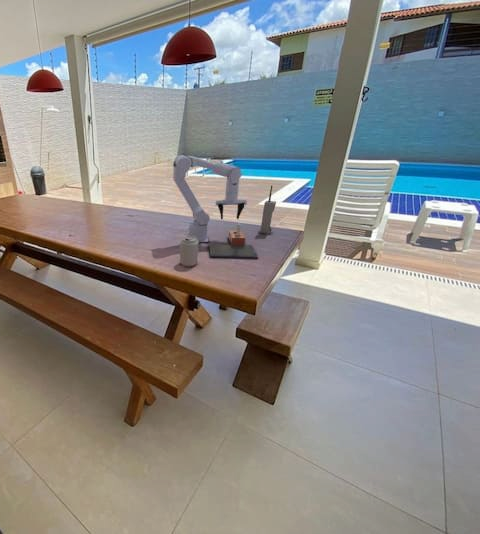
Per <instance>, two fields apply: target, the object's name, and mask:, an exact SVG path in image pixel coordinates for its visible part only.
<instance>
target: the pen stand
mask: <svg viewBox="0 0 480 534" xmlns="http://www.w3.org/2000/svg"><path fill="white" fill-rule="evenodd" d="M236 232H237V230H228V240H229V244H230V245H246V244H245V243H246V236H245V234H244V232H243V230H240V236H239V237H236Z"/></svg>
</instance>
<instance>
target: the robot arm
mask: <svg viewBox="0 0 480 534" xmlns="http://www.w3.org/2000/svg"><path fill="white" fill-rule="evenodd" d="M196 167H200V168H204V169H207V170H211V172H212V174H214V175H217V176H220V177H224V178H226V183H225V185H226V186H225V196H224V199H222V200H221V199H220V200H215V206H217V207H218V210H219V215H220V220H224V206H237V211H236V219H237V220H240V216H241V214H242V211H243V210H244V209H245V206H246V205H247V204H248V200H247V199H238V197H239V187H240V179H241V177H242V175H243V172H242V170H241V168H240V167H238V166H235V165H233V164H231V163H229V164H228V163H225V162H224V161H223V160H219V161H215V162H212V161H208V160H205V159H203V158H199V157H197V156H192V155H185V154H178V155H177V156H176V157H175V159H174V160H173V163H172V179H173V181H174V183H175V185H176V187H177V188H178V190H179V192H180V193H181V195H182V196H183V198H184V200H185V202H186V203H187V205H188V206H189V208H190V211H191V212H192V217H193V222H190V223H189V225H188V234H187V236H193V237H196V238H197V240H198V242H199V243H208V242H209V241H208V240H209V239H208V227H209V225H208V224H209V222H210V219H211V218H210V215H209V213H207V211H205V210H204V208H203V207H202V206H201V204H200V203H199V201H198V199H197V197H196V196H195V194H194V192H193V190H192V189H191V188H190V185H189V184H188V182H187V180H186V179H185V178H186V176H187V173H188V172H189V170H190V169H191V168H196Z"/></svg>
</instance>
